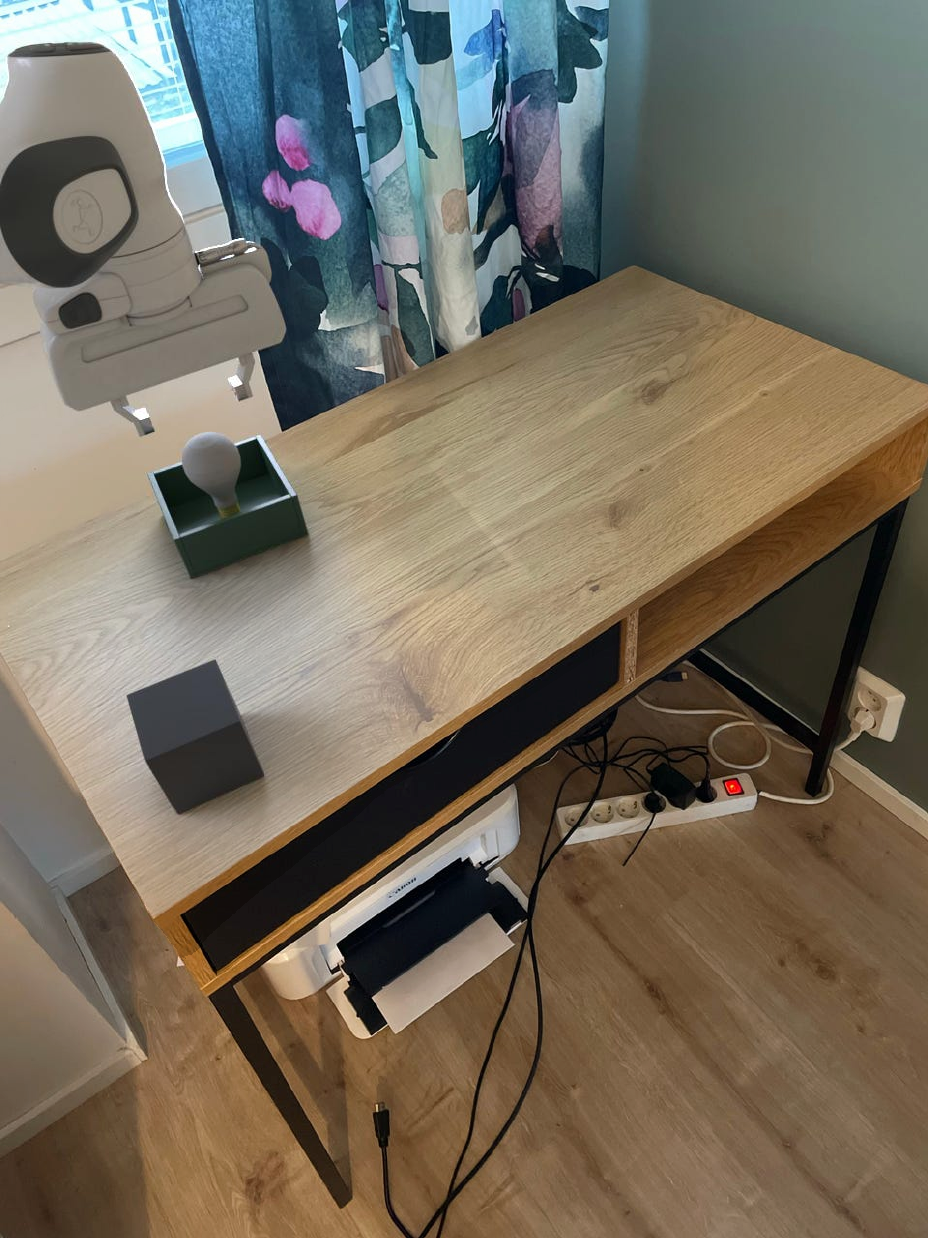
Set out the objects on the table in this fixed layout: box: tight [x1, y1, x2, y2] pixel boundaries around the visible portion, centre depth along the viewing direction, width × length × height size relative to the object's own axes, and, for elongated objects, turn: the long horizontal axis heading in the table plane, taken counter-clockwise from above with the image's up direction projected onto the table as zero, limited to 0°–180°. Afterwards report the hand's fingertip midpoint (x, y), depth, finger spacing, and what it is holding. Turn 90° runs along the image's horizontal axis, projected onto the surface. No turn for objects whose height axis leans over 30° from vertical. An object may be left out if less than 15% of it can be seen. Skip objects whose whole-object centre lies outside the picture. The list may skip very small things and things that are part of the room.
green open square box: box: [146, 434, 309, 580], centre depth 90 cm, size 12×12×5 cm
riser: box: [126, 659, 265, 815], centre depth 68 cm, size 7×7×7 cm
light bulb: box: [181, 431, 241, 519], centre depth 88 cm, size 5×6×10 cm
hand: (195, 413), depth 83 cm, fingers open, 8 cm apart
